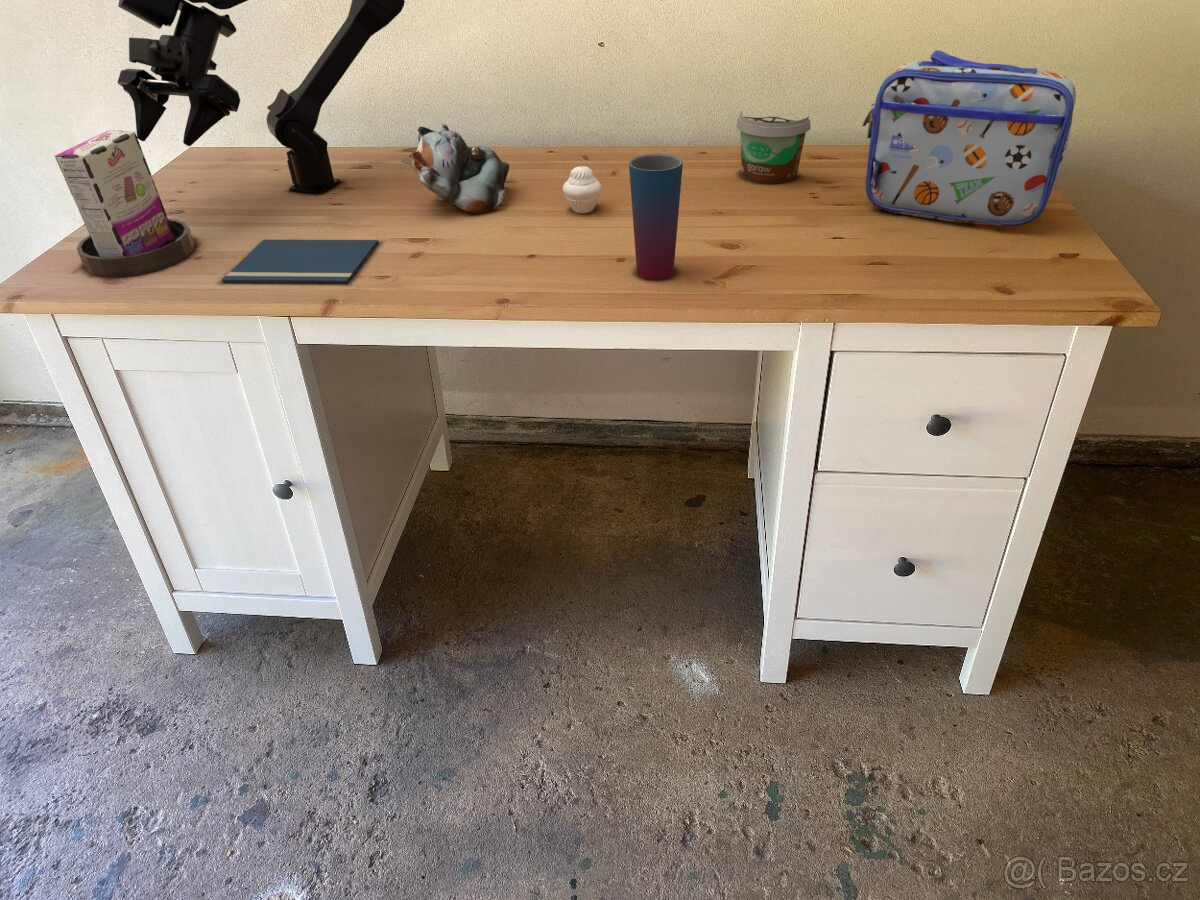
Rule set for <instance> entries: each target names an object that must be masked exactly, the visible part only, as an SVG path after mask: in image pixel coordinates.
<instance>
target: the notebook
mask: <svg viewBox="0 0 1200 900" xmlns="http://www.w3.org/2000/svg"><path fill="white" fill-rule="evenodd" d="M378 245H379V240H378V239H263V240H262V241H261V242H259V243H258V244H257V245H256V246H255V247H254V248H253V249H252V250H251V251H250V252H249V253H248V254H247V255H246V256H245V257H244V258H243V259H242V260H241V261H240V262H239V263H238V264H236V265H235V266H234V267H233V269H232V270H230V271H229V272H227V274H226V275H225V276H224V277H223V278H222V279H221V281H222V283H224V284H226V283H227V284H317V285H318V284H324V285H325V284H327V285H329V284H330V285H331V284H332V285H333V284H335V285H339V284H340V285H347V284H349V282H350V281H351V280H352V278H353V277H354V276H355V274H356V273H357V271H358V270H359V269H360V268H361V267H362V265H363V264H364V262H366V260H367V259H368V257H369V256H370V255H371V253H372V252H373V251H374V250H375V248H376V247H377V246H378Z"/></svg>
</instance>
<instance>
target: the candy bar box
mask: <svg viewBox="0 0 1200 900" xmlns="http://www.w3.org/2000/svg"><path fill="white" fill-rule="evenodd" d="M54 158H55V161H56V162H57V165H58V167H59V169H60V172H61V174H62V176H63V178H64V181H65V183H66V185H67V187H68V190H69V191H70V195H71V196H72V199H73V201H74V203H75V205H76V207H77V210H78V211H79V214H80V217H81V218H82V222H83V223H84V225H85V227H86V229H87V232H88V234H89V235H90V237H91V239H92V241H93V243H94V246H95V248H96V250H97V252H98V255H99V257H122V256H129V255H136V254H140V253H144V252H148V251H152V250H155V249H157V248H160V247H163V246H165V245H167V244H168V243H170V242H171V241H172V240H174V239H175V236H174V233H173V230H172V228H171V225H170V223H169V220H168V219H169V217H168V215H167V213H166V210H165V207H164V204H163V202H162V199H161V197H160V194H159V191H158V189H157V187H156V184H155V181H154V177H153V176H152V172H151V170H150V168H149V165H148V161H147V159H146V157H145V154H144V152H143V149H142V147H141V144H140V140H139V139H138V138H137V132H136V130H135V131H134V130H115V129H111V130H106V131H105V132H102V133H100V134H97V135H96V136H93V137H91V138H88V139H87V140H85V141H83V142H81V143H78V144H76V145H74V146H72V147H70V148H68V149H65V150H64V151H61V152H59V153H57V154H55V155H54Z"/></svg>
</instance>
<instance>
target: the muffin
mask: <svg viewBox="0 0 1200 900" xmlns="http://www.w3.org/2000/svg"><path fill="white" fill-rule="evenodd" d="M602 189H603V187H602V183H600V181H599V180H598V179H597V178H596V177H595V175H594V172H593V170H592V169H591V167H588V166H586V165H580V166H576V167H573V168H572V169H571V171H570V173H569V176H568V179H567V180H566V181H565V182H564V184H563V186H562V193H563V194H564V197H565V199H566V201H567V203H568V204H569V205H570V207H571V209H572V211H573V212H574V213H577V214H589V213H591V212H593V211H594V209H595V207H596V205H597V204H598V200H599V198H600V197H601V193H602Z"/></svg>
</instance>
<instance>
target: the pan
mask: <svg viewBox="0 0 1200 900" xmlns="http://www.w3.org/2000/svg"><path fill="white" fill-rule="evenodd" d="M168 220H169V223H170V225H171V228H172V230H173V233H174V236H175V239H174V240H172V241H171V242H170V243H168V244H167V245H165V246H163V247H160V248H157V249H155V250H152V251H148V252H144V253H140V254H136V255H129V256H122V257H99V255H98V252H97V250H96V248H95V246H94V243H93V241H92V239H91V237H90V234H89V235H87V236H86V237H84V238H83V239H82V240H80V242H79V243H78V245H77V246H76V251H77V253H78V256H79V258H80V260H81V262H82V264H83V267H84V269H85V271H86V272H88V273H89V274H91V275H94V276H96V277H97V276H98V277H103V278H124V277H125V278H126V277H134V276H139V275H144V274H149V273H153V272H156V271H159V270H163V269H165V268H168V267H170V266H173V265H175V264H177V263H179V262H181V261H183V260H185V259H186V258H187V257H188V256H190V254H192V252H194V250H195V241H194V238H193V235H192V233H191V230H190V229H191V228H190V226H189V225H188V224H187V223H186V222H184V221H182V220H179V219H175V218H168Z"/></svg>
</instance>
